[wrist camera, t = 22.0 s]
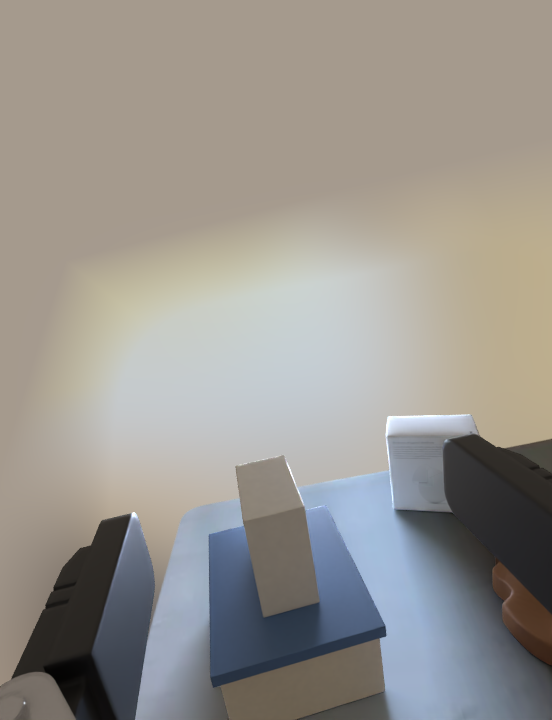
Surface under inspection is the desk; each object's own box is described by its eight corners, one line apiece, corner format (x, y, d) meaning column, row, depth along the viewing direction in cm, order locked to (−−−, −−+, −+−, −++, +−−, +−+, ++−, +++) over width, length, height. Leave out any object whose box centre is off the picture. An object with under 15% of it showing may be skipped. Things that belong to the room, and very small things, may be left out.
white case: (263, 618, 31) (242, 521, 28) (252, 546, 39) (235, 465, 36) (320, 602, 31) (304, 506, 29) (297, 535, 39) (284, 454, 37)
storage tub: (229, 747, 29) (210, 677, 27) (221, 587, 43) (208, 534, 41) (392, 695, 31) (385, 626, 29) (333, 557, 45) (326, 504, 43)
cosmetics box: (474, 483, 53) (472, 412, 50) (482, 515, 47) (481, 436, 45) (393, 480, 57) (387, 413, 54) (392, 510, 51) (385, 436, 48)
